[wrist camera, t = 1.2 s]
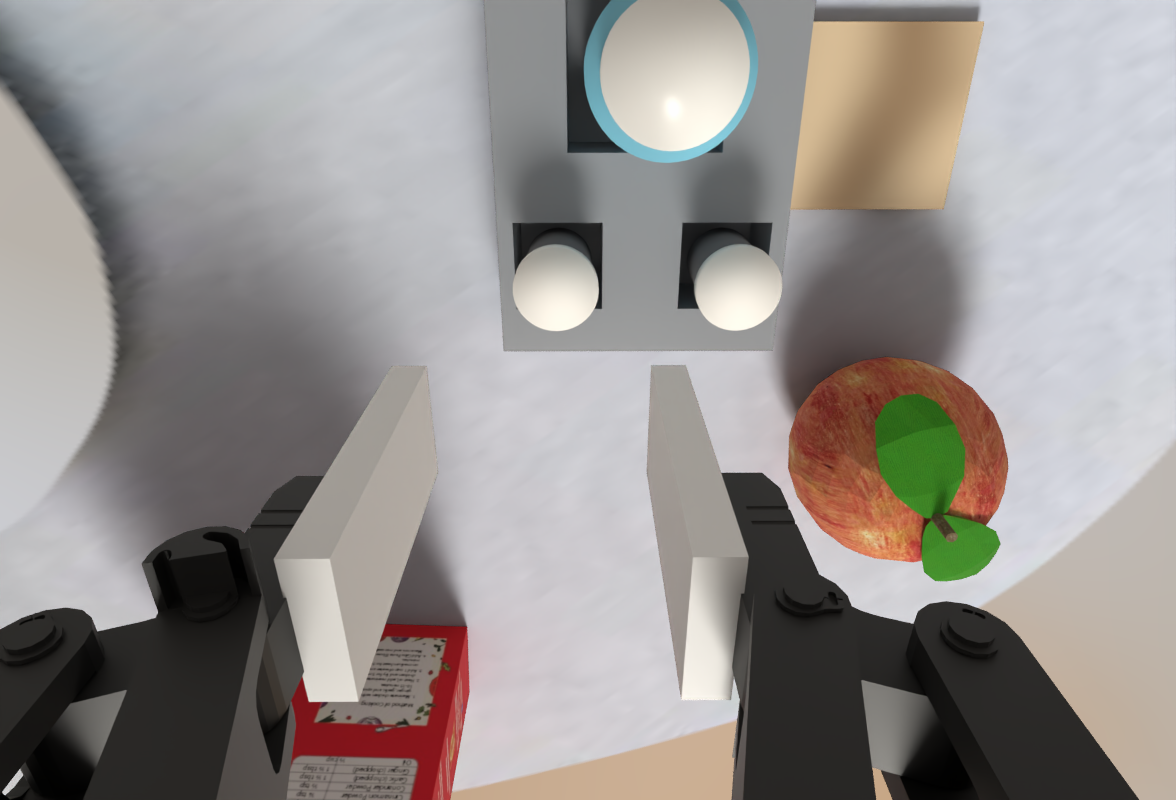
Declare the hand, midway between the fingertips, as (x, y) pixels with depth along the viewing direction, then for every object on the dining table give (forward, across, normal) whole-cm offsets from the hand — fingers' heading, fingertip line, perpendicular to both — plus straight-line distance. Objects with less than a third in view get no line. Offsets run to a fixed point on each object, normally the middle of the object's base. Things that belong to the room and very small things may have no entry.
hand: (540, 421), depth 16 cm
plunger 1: (+14, 0, 0) cm, 14 cm away
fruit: (+17, +14, -8) cm, 24 cm away
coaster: (+17, +13, +5) cm, 22 cm away
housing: (+17, +3, +4) cm, 18 cm away
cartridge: (+16, +3, +7) cm, 18 cm away
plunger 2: (+14, +6, 0) cm, 15 cm away
